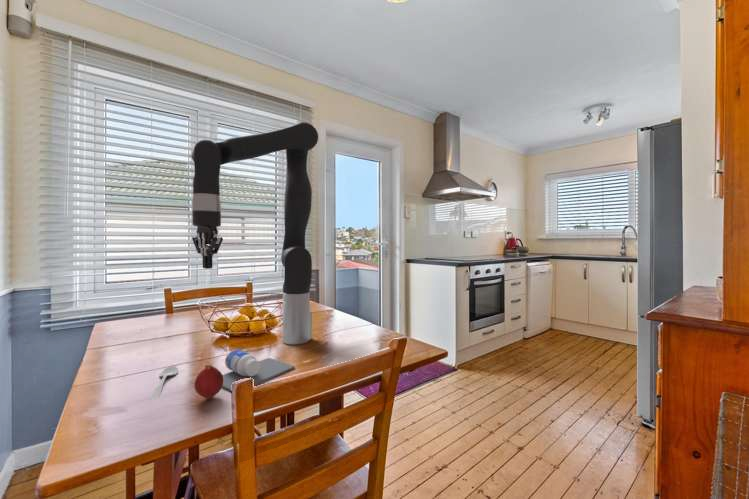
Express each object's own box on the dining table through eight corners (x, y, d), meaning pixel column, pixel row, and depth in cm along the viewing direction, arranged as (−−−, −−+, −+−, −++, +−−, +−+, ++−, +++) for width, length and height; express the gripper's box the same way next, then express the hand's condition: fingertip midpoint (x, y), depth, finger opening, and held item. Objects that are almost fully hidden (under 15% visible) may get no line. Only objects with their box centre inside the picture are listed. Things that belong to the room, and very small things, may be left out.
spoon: (181, 369, 90) (180, 364, 90) (159, 407, 71) (159, 399, 71) (163, 371, 89) (163, 365, 89) (136, 410, 69) (136, 402, 69)
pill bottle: (246, 350, 91) (266, 359, 85) (238, 370, 90) (258, 380, 84) (229, 346, 87) (249, 355, 81) (220, 367, 86) (240, 377, 80)
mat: (268, 359, 97) (268, 357, 97) (294, 368, 91) (294, 366, 91) (209, 382, 82) (209, 379, 82) (236, 394, 76) (236, 391, 76)
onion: (201, 392, 76) (201, 359, 76) (227, 392, 77) (226, 358, 76) (190, 405, 70) (189, 369, 70) (217, 404, 71) (217, 368, 71)
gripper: (231, 210, 96) (232, 268, 97) (207, 211, 103) (207, 266, 104) (206, 208, 90) (207, 271, 91) (182, 210, 97) (183, 268, 98)
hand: (207, 268), depth 97 cm, fingers closed
